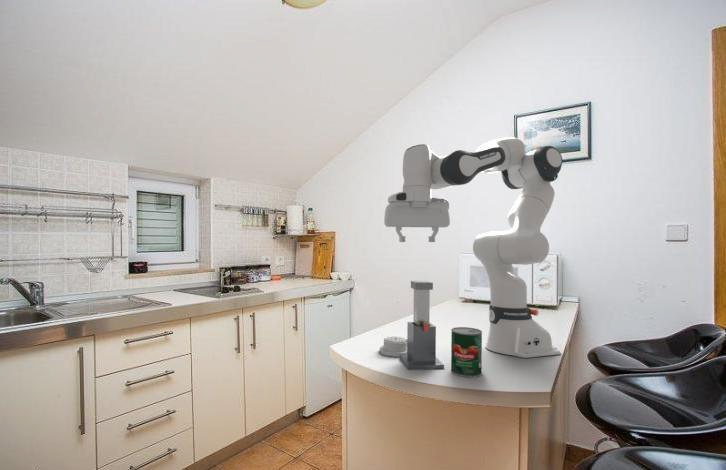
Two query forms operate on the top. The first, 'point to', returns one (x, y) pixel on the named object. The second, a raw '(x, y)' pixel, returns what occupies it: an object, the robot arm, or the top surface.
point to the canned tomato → (466, 352)
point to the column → (421, 301)
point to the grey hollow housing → (421, 347)
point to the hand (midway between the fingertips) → (417, 242)
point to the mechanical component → (394, 346)
